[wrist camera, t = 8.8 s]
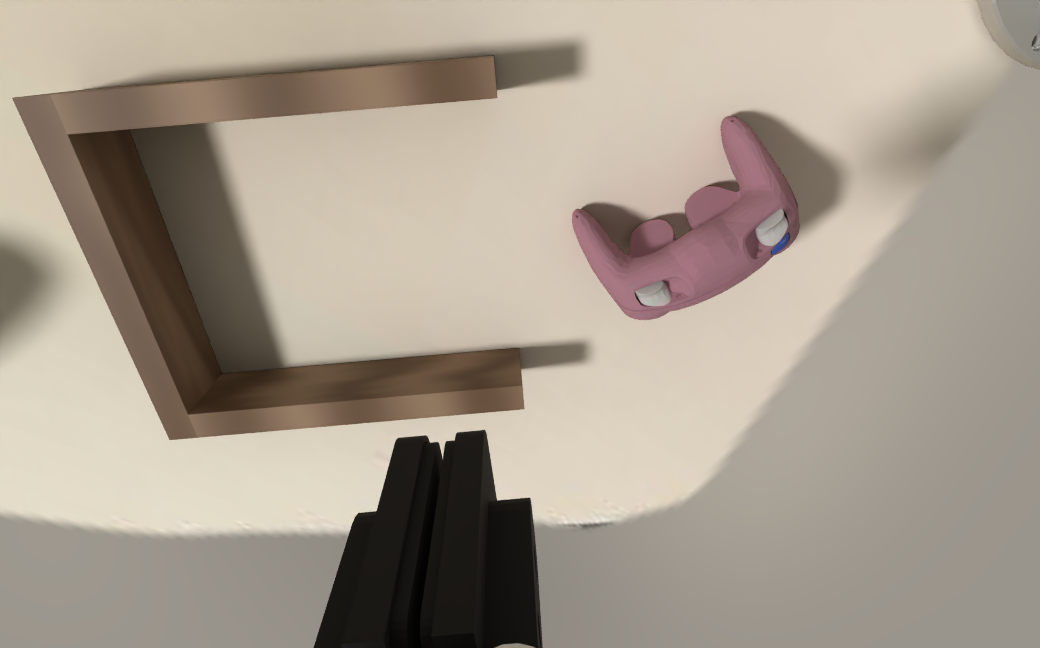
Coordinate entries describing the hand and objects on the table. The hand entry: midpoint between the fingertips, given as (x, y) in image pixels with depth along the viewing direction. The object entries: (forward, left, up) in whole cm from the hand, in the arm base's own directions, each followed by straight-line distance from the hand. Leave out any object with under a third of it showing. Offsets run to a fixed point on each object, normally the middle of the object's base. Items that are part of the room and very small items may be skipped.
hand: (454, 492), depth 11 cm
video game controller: (-10, +1, -20) cm, 23 cm away
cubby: (+8, +1, -20) cm, 22 cm away
